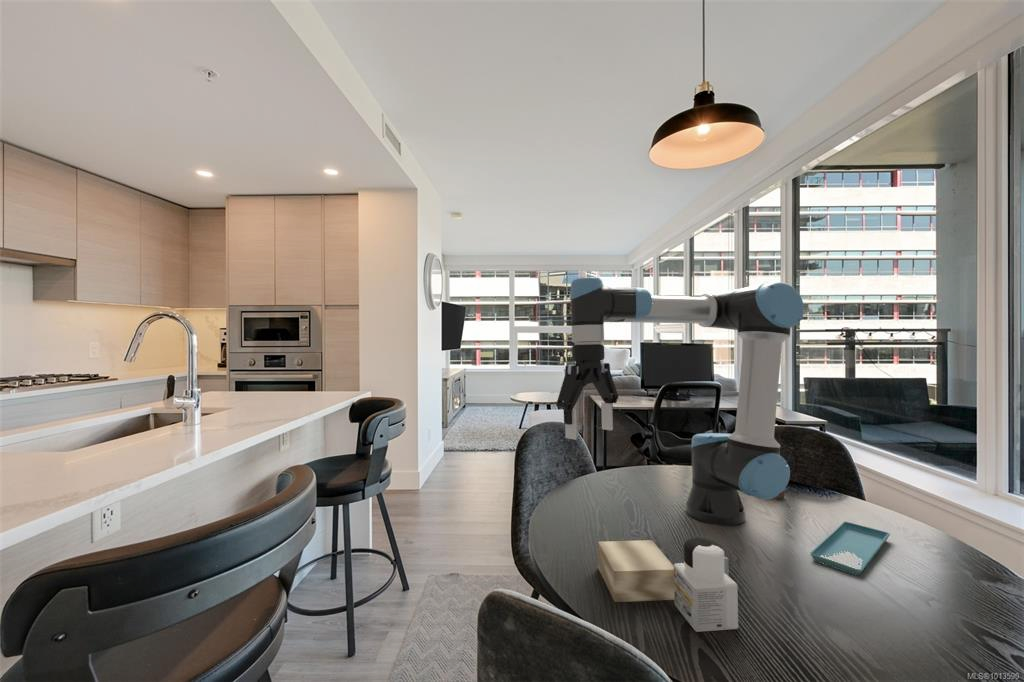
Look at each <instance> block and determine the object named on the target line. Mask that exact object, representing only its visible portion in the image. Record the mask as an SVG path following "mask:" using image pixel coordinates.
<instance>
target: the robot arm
mask: <svg viewBox="0 0 1024 682" xmlns="http://www.w3.org/2000/svg"><path fill="white" fill-rule="evenodd" d="M569 300H570V313H571V314H570V317H571V342H572V343H574V344H573V345H572V346H571V359H572V360H573V361H575V364H571V365H570V364H566V365H565V367H564V369H565V370H564V377H563V380H562V385H561V387H560V391H559V394H558V398H557V401H556V403H555V404H556V407H557V408H559V409H560V410H563V423H564V428H565V431H564V433H565V435H564V436H565V439H569V440H573V441H574V440H576V441H577V439H578V435H577V434H578V432H577V431H578V430H577V425H578V423H577V409H575V406H576V404H577V402H578V399H579V398H580V396H581V393H582V391H583V389H584V387H586V386H587V385H588V384H593V385H594V387H595V389H596V391H597V393H598V394H599V396H600V398H601V399H602V401H603V402H601V403H600V404H601V405H600V406H601V409H600V410H601V429H602V430H604V431H605V430H606V431H613V430H614V423H613V420H614V417H613V415H614V404H617V402H618V400H619V394H618V391H617V388H616V386H615V382H614V379H613V375H612V372H611V366H610V363H609V362H603V363H602V362H601V361H603V360H604V359H605V345H604V344H602V343H603V342H604V341H605V328H604V327H605V326H604V325H605V324H604V323H651V324H656V323H658V324H698V325H699V326H700V327H703V328H714V329H715V328H716V329H725V330H732V331H733V330H734V331H737V335H738V336H739V337H740V338H741V340H742V342H743V343H742V352H741V364H740V374H739V375H740V377H739V383H738V385H739V386H738V387H739V388H738V396H737V408H736V419H735V429H734V431H733V433H723V432H714V433H713V432H708V433H707V432H706V433H696V434H694V435H693V436H692V438H691V446H690V450H691V477H692V479H691V481H692V482H691V483H692V484H691V488H690V490H689V494H688V496H687V500H686V503H685V505H686V506H685V507H686V508H685V509H686V513H687V514H688V515H689V516H690V517H692V518H694V519H696V520H699V521H702V522H704V523H705V522H706V523H709V524H714V525H720V526H734V525H740V524H742V523H744V522H745V521H746V510H745V508H744V505H743V502H742V499H741V497H740V494H739V492H741V493H742V494H744V495H746V496H748V497H753V498H756V499H759V500H770V499H772V498H774V497H776V496H778V495H779V493H780V492H782V491H783V490H784V491H785V489H786V487H787V485H788V484H789V481H790V479H791V469H790V465H789V464H788V462H787V460H786V459H785V458H784V457H783V456H782V455H781V454H780V453H781V444H780V443H779V442H778V441H777V440H776V438H775V429H776V427H775V426H776V417H777V407H778V396H779V395H778V393H779V392H778V391H779V384H780V383H779V382H780V370H781V359H782V349H783V348H782V347H783V343H784V342H785V341H787V340H789V338H790V337H791V328H794V327H796V325H798V324H799V323H800V321H802V319H803V317H804V313H805V305H804V301H803V298H802V296H801V294H800V293H798V291H797V289H796V288H795V287H794V286H792V285H790V284H789V283H787V282H783V281H776V282H764V283H761V284H756V285H752V286H751V285H750V286H747V287H742V288H737V289H733V290H729V291H727V290H726V291H723V292H718V293H704V294H701V295H700V296H675V295H674V296H672V295H671V296H669V295H666V296H665V295H652V293H651V292H650V291H649V289H647V288H645V287H637V286H634V287H631V286H630V287H615V286H614V287H608V286H604V282H603V280H602V278H600V277H595V276H589V277H588V276H587V277H585V276H584V277H580V278H576V279H573V280H572V281H571V284H570V298H569Z"/></svg>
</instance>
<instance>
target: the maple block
mask: <svg viewBox="0 0 1024 682" xmlns="http://www.w3.org/2000/svg"><path fill="white" fill-rule="evenodd" d="M597 550H598V551H597V558H598V559H597V563H598V567H597V568H598V570H599V572H600V574H601V577H602V579H603V580H604V583H605V585H606V587H607V589H608V591H609V593H610V595H611V598H612V599H613V601H614V603H621V602H647V601H651V602H653V601H671V600H672V601H674V564H673V563H672V562H671V561H670V560H669V559H668V557H667V556H666V554H664V553H663V552H662V550H661V549H660V548H659V546H657V544H656V543H655V542H654V541H653V539H650V540H649V539H646V540H644V539H643V540H616V541H615V540H614V541H613V540H611V541H605V540H604V541H598V542H597Z"/></svg>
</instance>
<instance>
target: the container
mask: <svg viewBox="0 0 1024 682" xmlns="http://www.w3.org/2000/svg"><path fill="white" fill-rule="evenodd" d="M724 556H725V550H724V548H723V547H722V546H721V545H720V544H719V543H717V542H716V541H713V540H712V539H708V538H703V537H693V538H688V539H686V540H685V541H684V542H683V562H680V563H679V562H678V563H676V562H675V563H674V564H673V566H674V600H673V601H674V605H675V607H676V608H677V609H678V611H679V612H680V613H681V615H682V616H683V617H684V618H685V620H686V621H687V622H688V624H689V625H690V626H691V628H693V630H694V631H695V632H696V633H699V632H713V631H714V632H715V631H726V630H738V629H739V602H738V601H739V600H738V599H739V598H738V596H739V595H738V594H739V593H738V584H737V582H735V581H734V580H733V579H732V578H731V577H730V575H729V576H727V575H726V574H725V573H724V572H725V570H724Z"/></svg>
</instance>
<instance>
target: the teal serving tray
mask: <svg viewBox="0 0 1024 682" xmlns="http://www.w3.org/2000/svg"><path fill="white" fill-rule="evenodd" d="M890 535H891V534H890V532H888V531H883V530H879V529H876V528H872V527H869V526H868V527H867V526H865V525H862V524H856V523H853V522H849V521H843V522H842V523H841V524H840V525H838V527H836V528H835V530H833V532H831V533H830V534H829V535H828V536H827V537H826V538H825V539H824V540H823V541H821V543H819V544H818V545H817V546H816V547H815V548H814V549H813V550H812V551H811V552H810V556H811V558H812V559H813V560H814V561H815V560H816V561H818V562H817V563H819V562H821V563H820V564H822V563H824V564H823V565H825V564H827V565H826V566H828V565H829V567H831V566H833V567H832V568H834V567H836V568H835V569H837V568H839V569H838V570H840V569H842V570H841V571H843V570H845V571H847V572H846V573H848V572H850V573H849V574H851V573H853V574H852V575H854V574H856V575H855V576H861V575H860V574H861V573H862V572H863V571H864V570H865V569H864V568H866V567H867V566H868V565H869V564H870V563H871V561H872V560H873V558H874V557H875V556H876V555H877V553H878V552H879V551H880V549H881V548H882V546H883V545H884V544H885V542H886V541H887V540H888V538H889V537H890ZM841 551H842V552H843V553H845V552H847V551H848V552H850V553H851V554H852V553H854V554H855V555H856V556H857V557H858V558H861V559H862V560H863V561H862V565H861V566H862V567H861V569H855V568H852V567H849V566H847V565H844V564H841V563H838V562H835V561H832V560H829V559H826V558H823V557H820V556H821V555H823V556H824V557H825V555H826V557H829V556H833V554H834V553H835V555H837V554H836V553H838V555H839V552H840V553H842V552H841ZM844 551H845V552H844ZM828 554H829V555H828ZM852 555H853V554H852ZM816 561H815V562H816ZM859 562H860V561H859ZM868 563H869V564H868ZM858 565H860V563H859V564H858ZM845 571H844V572H845Z"/></svg>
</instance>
